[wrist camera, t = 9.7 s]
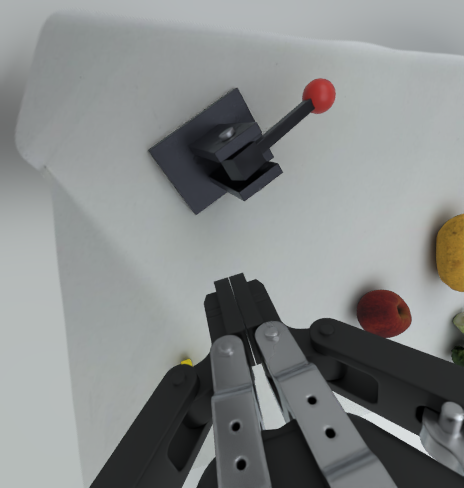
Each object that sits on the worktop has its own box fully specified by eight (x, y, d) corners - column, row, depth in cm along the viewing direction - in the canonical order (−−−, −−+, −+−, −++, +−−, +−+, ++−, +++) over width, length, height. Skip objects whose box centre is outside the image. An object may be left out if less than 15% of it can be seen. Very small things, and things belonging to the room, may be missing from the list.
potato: (461, 201, 54) (507, 211, 47) (453, 273, 59) (493, 290, 53) (429, 213, 52) (471, 225, 46) (424, 286, 58) (461, 305, 52)
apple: (390, 292, 55) (431, 316, 48) (364, 327, 56) (400, 356, 49) (367, 275, 52) (406, 298, 45) (339, 312, 53) (374, 341, 46)
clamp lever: (310, 77, 32) (335, 67, 30) (322, 105, 34) (346, 99, 31) (214, 156, 28) (231, 154, 26) (232, 184, 30) (250, 185, 27)
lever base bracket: (233, 88, 35) (282, 71, 25) (269, 156, 39) (324, 166, 29) (147, 150, 35) (160, 159, 24) (193, 212, 39) (221, 244, 28)
